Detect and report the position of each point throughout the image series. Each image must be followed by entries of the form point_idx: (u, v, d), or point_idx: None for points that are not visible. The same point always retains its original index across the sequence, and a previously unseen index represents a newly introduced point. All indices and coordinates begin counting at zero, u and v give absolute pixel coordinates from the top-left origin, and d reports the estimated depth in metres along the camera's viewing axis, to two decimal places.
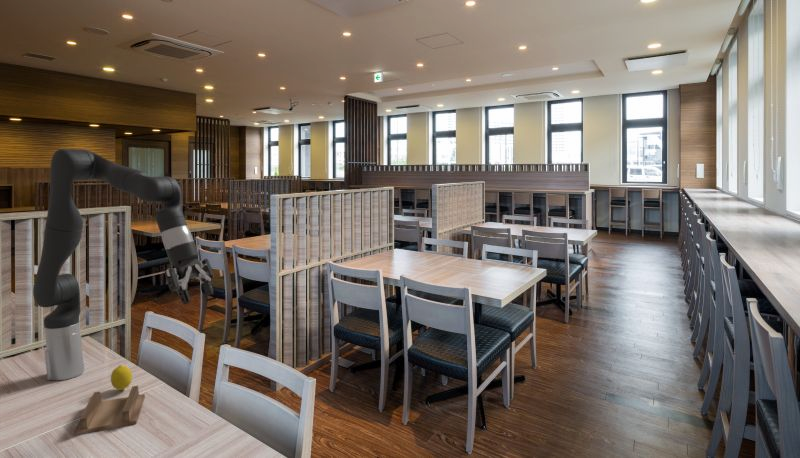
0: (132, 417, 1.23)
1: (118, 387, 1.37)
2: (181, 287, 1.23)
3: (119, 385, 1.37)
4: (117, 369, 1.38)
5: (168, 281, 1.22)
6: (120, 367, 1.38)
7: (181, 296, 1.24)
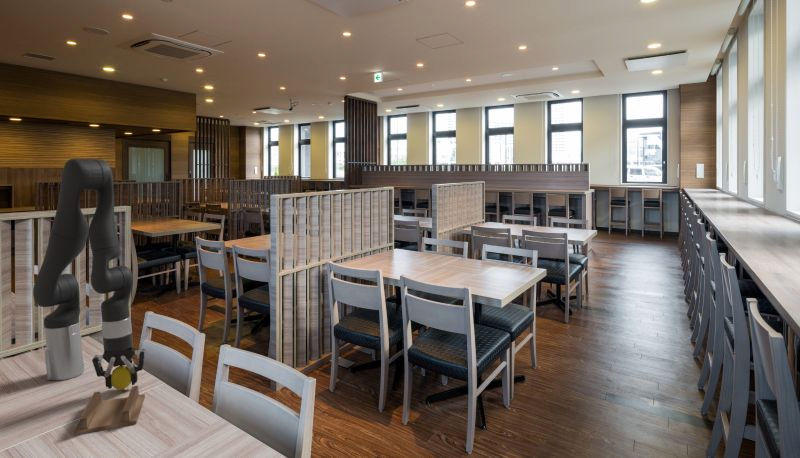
0: (132, 417, 1.23)
1: (118, 387, 1.37)
2: (104, 375, 1.37)
3: (119, 385, 1.37)
4: (117, 369, 1.38)
5: None
6: (120, 367, 1.38)
7: None
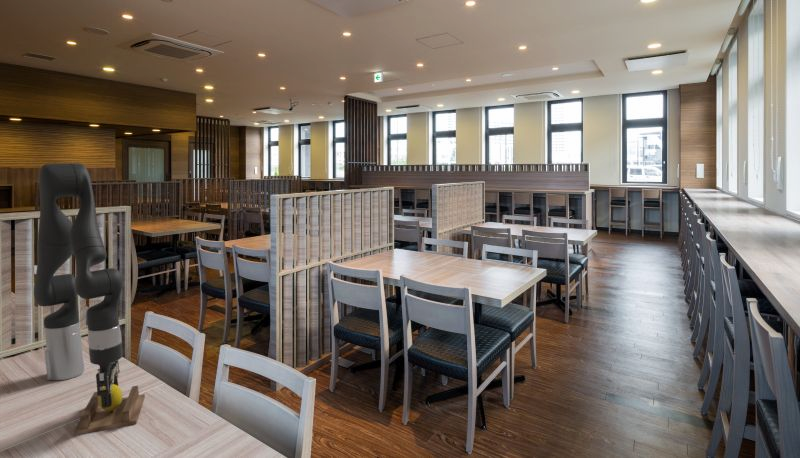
0: (132, 417, 1.23)
1: (120, 403, 1.26)
2: (109, 391, 1.20)
3: (121, 400, 1.26)
4: (113, 387, 1.25)
5: (98, 386, 1.18)
6: None
7: (105, 400, 1.20)
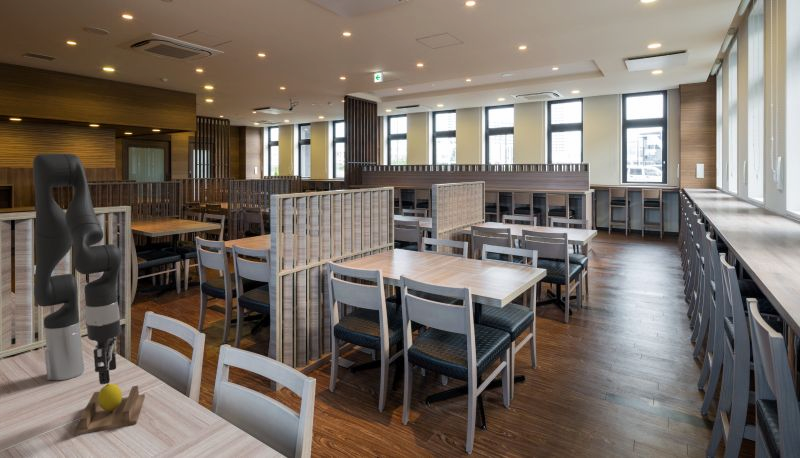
0: (132, 417, 1.23)
1: (120, 402, 1.26)
2: None
3: (121, 399, 1.27)
4: (112, 386, 1.25)
5: (96, 362, 1.17)
6: (111, 384, 1.25)
7: (102, 376, 1.19)
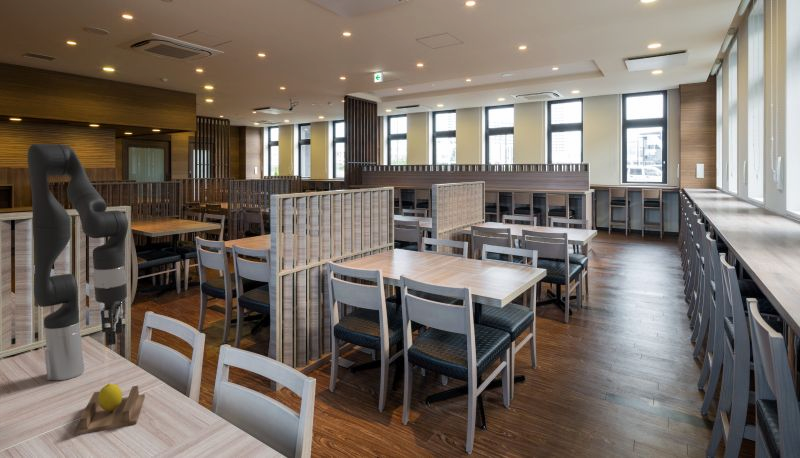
0: (132, 417, 1.23)
1: (120, 402, 1.26)
2: None
3: (121, 399, 1.27)
4: (113, 386, 1.25)
5: (103, 322, 1.21)
6: (111, 384, 1.25)
7: (109, 337, 1.24)
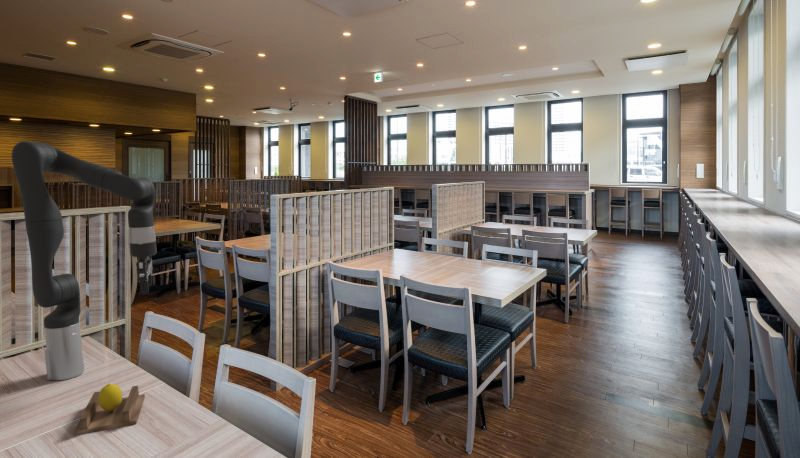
0: (132, 417, 1.23)
1: (120, 403, 1.26)
2: None
3: (121, 399, 1.27)
4: (113, 386, 1.25)
5: (138, 272, 1.41)
6: (112, 384, 1.25)
7: (143, 286, 1.44)
